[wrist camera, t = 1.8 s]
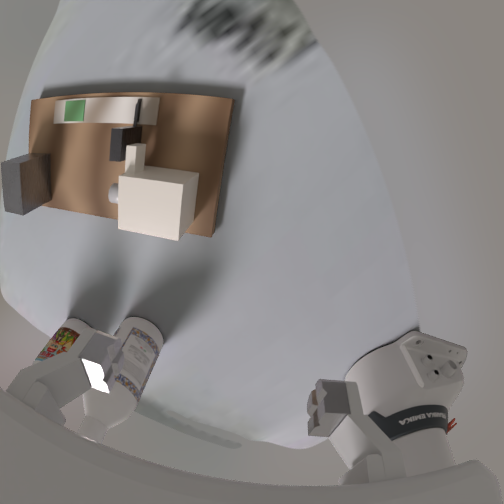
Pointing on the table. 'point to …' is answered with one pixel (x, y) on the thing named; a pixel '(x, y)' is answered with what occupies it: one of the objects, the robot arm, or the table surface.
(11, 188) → the dark grey cube
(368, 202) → the table surface
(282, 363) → the table surface
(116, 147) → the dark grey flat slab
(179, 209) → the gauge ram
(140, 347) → the bath foam
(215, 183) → the wooden tray
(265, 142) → the table surface
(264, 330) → the table surface
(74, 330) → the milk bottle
